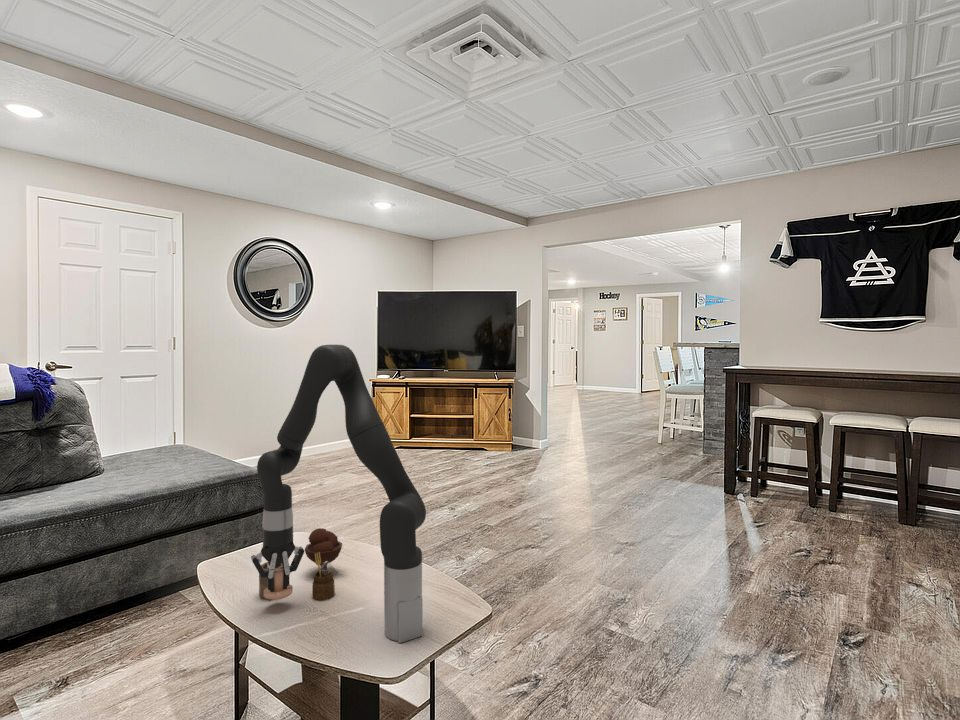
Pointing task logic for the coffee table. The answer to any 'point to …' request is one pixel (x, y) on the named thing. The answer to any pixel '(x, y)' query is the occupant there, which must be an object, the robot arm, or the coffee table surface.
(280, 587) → the lid
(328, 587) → the utensil holder
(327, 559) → the ice cream bowl
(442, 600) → the coffee table surface
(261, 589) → the canister
